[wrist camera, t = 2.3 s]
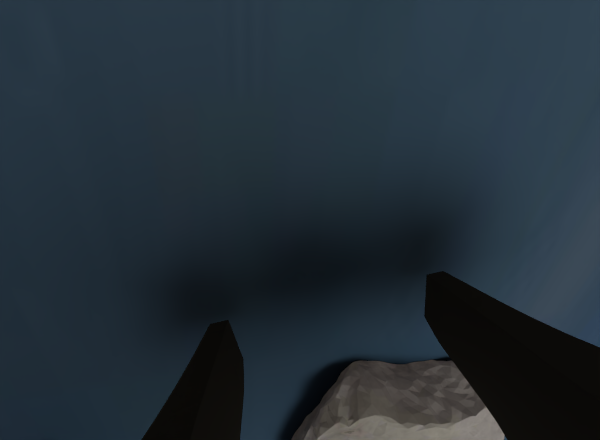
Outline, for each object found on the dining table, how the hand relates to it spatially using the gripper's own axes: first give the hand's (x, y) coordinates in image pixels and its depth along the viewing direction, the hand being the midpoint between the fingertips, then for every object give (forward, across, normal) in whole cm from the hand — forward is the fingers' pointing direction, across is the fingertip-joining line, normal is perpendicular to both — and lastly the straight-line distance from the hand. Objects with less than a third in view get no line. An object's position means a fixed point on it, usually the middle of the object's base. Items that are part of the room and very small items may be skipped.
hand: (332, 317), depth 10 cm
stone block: (+2, -1, +11) cm, 12 cm away
